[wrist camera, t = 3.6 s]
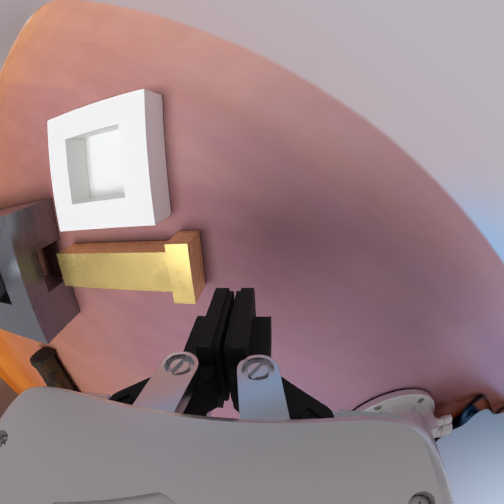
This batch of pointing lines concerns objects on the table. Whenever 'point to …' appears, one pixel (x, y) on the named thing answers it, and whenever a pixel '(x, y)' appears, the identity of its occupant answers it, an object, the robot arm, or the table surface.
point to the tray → (110, 163)
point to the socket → (31, 274)
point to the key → (138, 266)
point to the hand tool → (50, 369)
